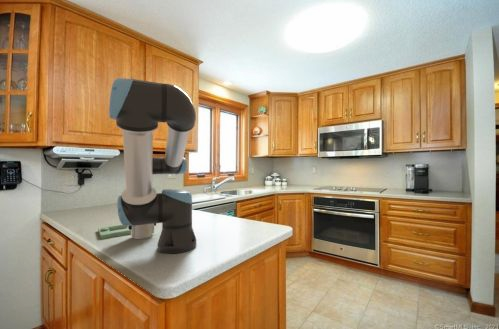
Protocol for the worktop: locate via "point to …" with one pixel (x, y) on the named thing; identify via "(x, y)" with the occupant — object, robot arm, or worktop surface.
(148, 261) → the worktop surface
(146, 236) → the cup
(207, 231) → the worktop surface
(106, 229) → the deck
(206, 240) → the worktop surface
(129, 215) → the robot arm
